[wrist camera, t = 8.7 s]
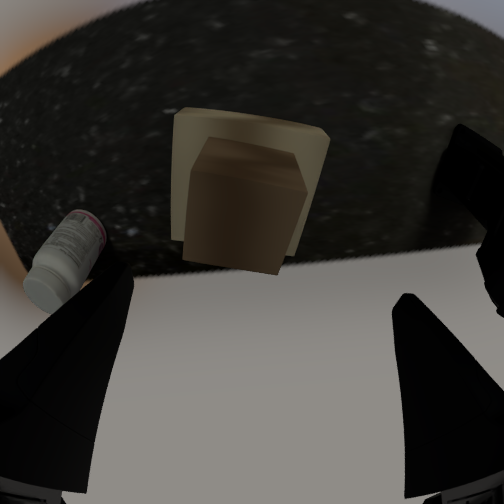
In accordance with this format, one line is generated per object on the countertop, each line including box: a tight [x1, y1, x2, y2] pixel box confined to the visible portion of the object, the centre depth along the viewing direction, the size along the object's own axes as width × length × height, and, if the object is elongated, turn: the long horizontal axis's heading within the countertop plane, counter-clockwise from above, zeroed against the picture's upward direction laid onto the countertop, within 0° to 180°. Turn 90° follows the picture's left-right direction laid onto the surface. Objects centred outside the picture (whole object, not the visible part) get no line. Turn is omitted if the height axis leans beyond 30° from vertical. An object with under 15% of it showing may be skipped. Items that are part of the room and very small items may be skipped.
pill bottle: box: [23, 210, 107, 314], centre depth 19 cm, size 5×5×8 cm
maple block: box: [171, 107, 330, 256], centre depth 18 cm, size 9×9×3 cm
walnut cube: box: [183, 137, 308, 275], centre depth 15 cm, size 5×5×5 cm
